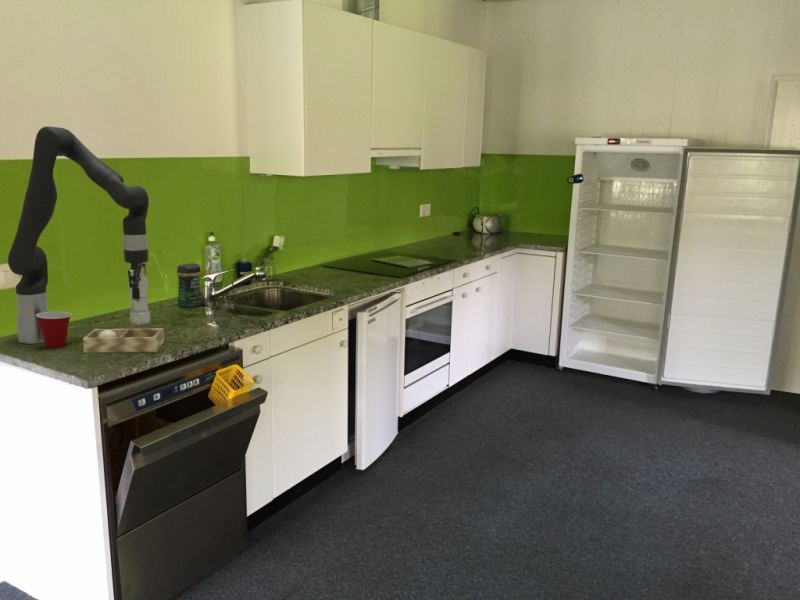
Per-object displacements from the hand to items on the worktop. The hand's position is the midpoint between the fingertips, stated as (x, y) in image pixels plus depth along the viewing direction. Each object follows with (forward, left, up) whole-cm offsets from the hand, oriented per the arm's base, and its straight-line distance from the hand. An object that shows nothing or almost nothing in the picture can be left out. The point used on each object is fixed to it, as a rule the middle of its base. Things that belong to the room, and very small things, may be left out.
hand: (138, 296), depth 226 cm
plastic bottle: (0, 0, -10) cm, 10 cm away
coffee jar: (+6, +64, -18) cm, 67 cm away
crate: (-5, 0, -18) cm, 19 cm away
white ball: (-11, 0, -17) cm, 20 cm away
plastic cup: (-28, +3, -18) cm, 34 cm away
